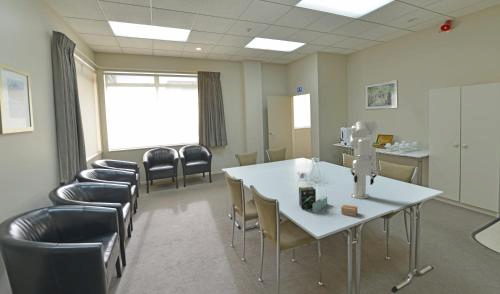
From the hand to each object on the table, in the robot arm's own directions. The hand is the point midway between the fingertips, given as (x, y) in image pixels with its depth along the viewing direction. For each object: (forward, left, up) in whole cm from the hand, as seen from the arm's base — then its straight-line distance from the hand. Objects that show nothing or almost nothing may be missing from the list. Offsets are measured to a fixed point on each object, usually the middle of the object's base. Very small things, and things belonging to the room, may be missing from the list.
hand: (363, 183), depth 159 cm
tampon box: (+3, -39, -24) cm, 46 cm away
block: (-1, -9, -24) cm, 25 cm away
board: (0, -30, -23) cm, 38 cm away
